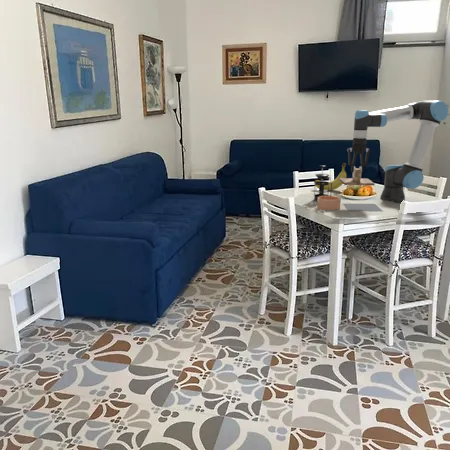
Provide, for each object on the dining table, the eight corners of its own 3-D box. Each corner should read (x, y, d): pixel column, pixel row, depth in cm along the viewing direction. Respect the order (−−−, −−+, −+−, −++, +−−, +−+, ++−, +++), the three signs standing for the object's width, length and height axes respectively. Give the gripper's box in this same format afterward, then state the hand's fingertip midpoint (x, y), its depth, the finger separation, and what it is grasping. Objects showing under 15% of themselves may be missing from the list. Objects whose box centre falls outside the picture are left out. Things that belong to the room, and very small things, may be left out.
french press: (313, 201, 290) (315, 166, 284) (312, 198, 299) (313, 164, 293) (331, 201, 289) (333, 166, 282) (329, 198, 298) (331, 164, 291)
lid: (367, 180, 273) (368, 167, 271) (374, 185, 257) (375, 171, 255) (339, 180, 275) (340, 166, 272) (344, 185, 258) (345, 170, 256)
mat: (374, 204, 279) (374, 203, 279) (383, 212, 260) (383, 211, 259) (342, 204, 280) (342, 203, 280) (348, 212, 261) (348, 211, 261)
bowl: (337, 205, 277) (338, 195, 276) (341, 210, 265) (341, 200, 263) (316, 205, 278) (316, 195, 277) (319, 210, 266) (319, 200, 264)
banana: (313, 190, 325) (314, 163, 320) (313, 189, 330) (315, 162, 325) (345, 191, 320) (347, 163, 315) (345, 189, 326) (347, 162, 320)
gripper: (372, 137, 262) (368, 176, 268) (344, 137, 263) (341, 176, 269) (375, 138, 255) (371, 178, 261) (347, 138, 256) (344, 178, 262)
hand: (356, 177), depth 265 cm, fingers closed on lid, 3 cm apart
